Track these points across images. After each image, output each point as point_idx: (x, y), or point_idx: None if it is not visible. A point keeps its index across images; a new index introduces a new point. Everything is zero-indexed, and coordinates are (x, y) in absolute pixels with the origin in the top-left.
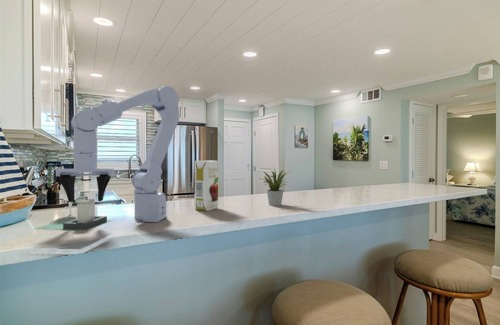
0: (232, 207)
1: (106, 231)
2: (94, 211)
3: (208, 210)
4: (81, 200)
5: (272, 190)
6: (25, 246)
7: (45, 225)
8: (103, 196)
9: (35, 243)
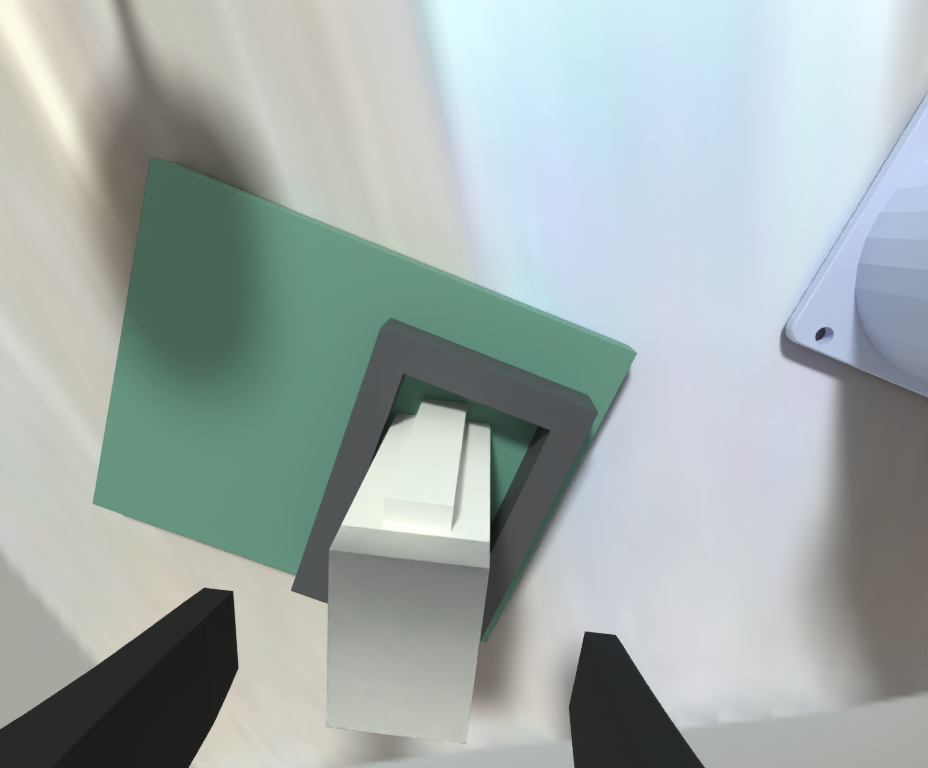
0: None
1: (606, 595)
2: (488, 480)
3: None
4: (343, 651)
5: None
6: (250, 748)
7: (112, 419)
8: (640, 678)
9: (271, 717)
